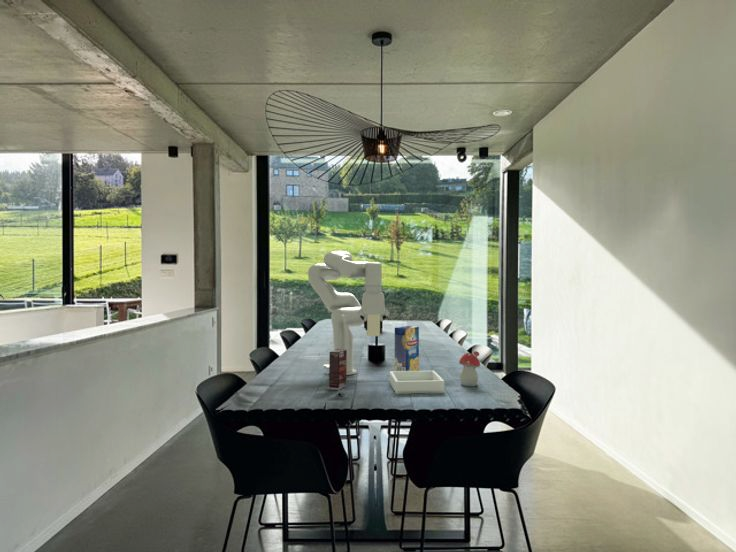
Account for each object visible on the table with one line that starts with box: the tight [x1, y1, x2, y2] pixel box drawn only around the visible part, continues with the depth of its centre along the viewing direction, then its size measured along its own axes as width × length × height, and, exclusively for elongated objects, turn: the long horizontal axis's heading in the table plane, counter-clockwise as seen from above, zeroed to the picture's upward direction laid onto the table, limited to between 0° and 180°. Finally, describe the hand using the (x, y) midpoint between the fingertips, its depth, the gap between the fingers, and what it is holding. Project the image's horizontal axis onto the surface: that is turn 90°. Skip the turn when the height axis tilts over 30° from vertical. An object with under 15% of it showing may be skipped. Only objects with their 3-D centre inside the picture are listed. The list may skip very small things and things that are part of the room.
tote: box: [389, 370, 445, 395], centre depth 230 cm, size 20×22×5 cm
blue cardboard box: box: [394, 325, 420, 371], centre depth 264 cm, size 7×11×22 cm, turn 142°
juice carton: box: [366, 314, 381, 337], centre depth 242 cm, size 6×6×10 cm
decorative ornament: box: [458, 350, 481, 387], centre depth 234 cm, size 9×7×15 cm
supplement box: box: [328, 349, 347, 391], centre depth 230 cm, size 9×5×16 cm, turn 160°
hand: (373, 329), depth 243 cm, fingers closed on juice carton, 5 cm apart
